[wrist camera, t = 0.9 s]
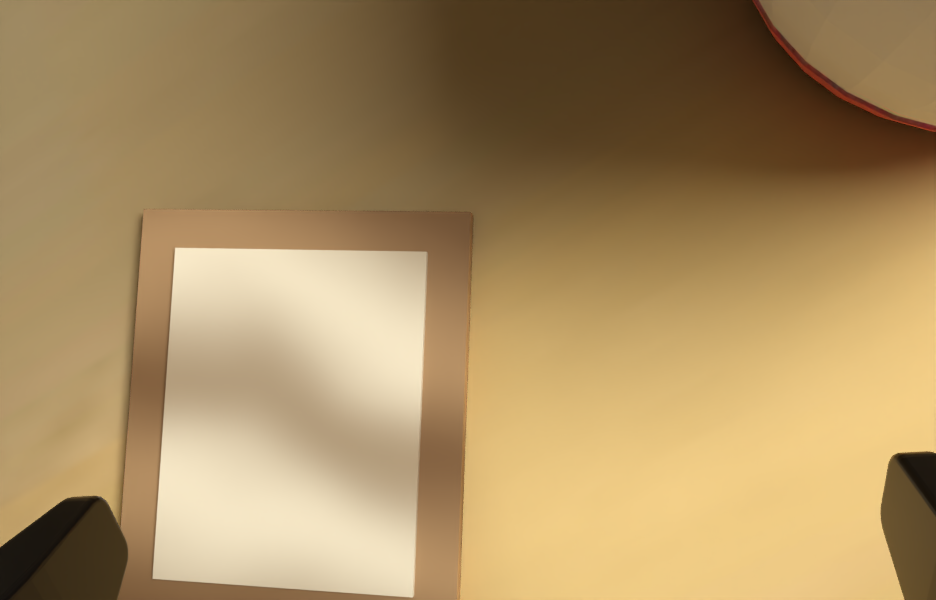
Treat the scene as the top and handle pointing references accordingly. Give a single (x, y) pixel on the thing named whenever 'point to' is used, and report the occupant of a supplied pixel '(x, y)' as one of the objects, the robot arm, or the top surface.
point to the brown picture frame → (298, 406)
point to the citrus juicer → (864, 51)
